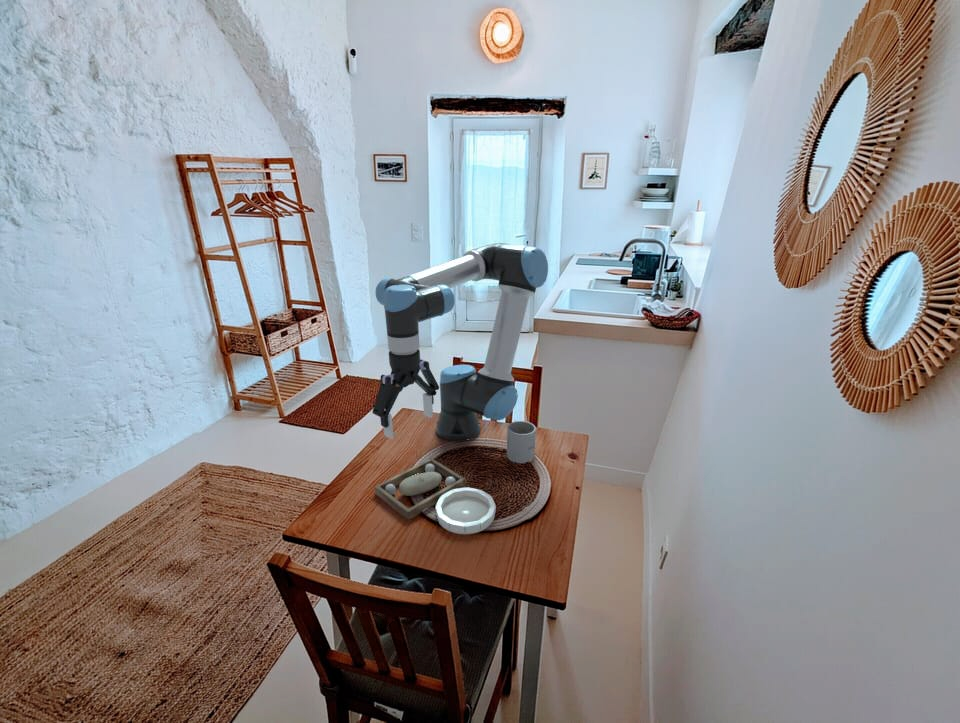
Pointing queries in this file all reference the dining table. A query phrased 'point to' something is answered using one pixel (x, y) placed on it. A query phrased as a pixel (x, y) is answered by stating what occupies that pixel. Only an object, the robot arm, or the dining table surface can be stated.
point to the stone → (419, 483)
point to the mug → (521, 441)
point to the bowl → (465, 510)
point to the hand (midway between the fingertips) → (409, 426)
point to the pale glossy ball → (429, 468)
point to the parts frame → (424, 504)
